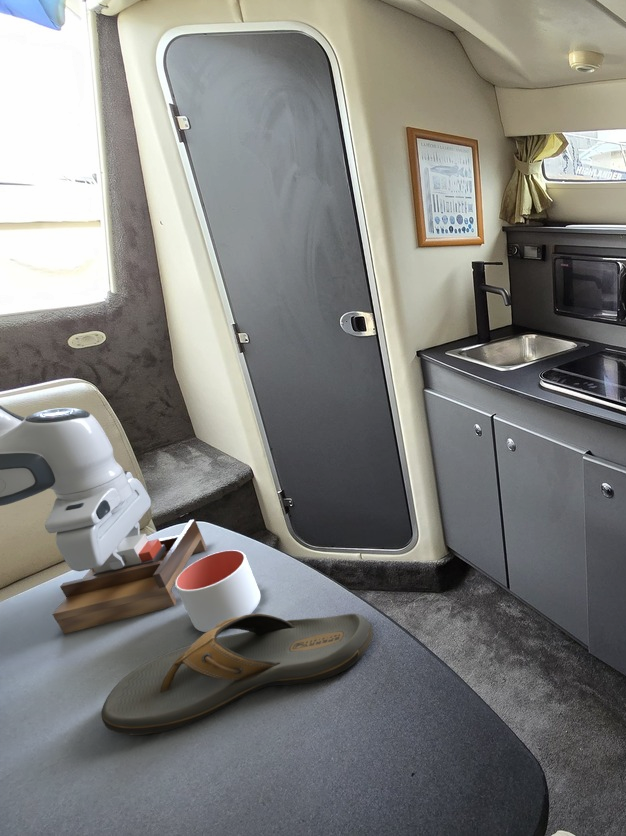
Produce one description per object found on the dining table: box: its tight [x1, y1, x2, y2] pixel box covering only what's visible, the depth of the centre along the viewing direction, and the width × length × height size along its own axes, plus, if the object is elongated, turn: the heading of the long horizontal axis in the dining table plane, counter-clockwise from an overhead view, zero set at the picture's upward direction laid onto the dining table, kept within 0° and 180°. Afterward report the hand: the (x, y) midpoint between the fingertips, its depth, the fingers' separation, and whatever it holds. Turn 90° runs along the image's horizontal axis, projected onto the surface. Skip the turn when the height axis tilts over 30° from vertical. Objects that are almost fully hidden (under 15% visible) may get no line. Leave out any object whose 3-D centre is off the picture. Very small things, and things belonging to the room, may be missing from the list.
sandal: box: [100, 613, 374, 736], centre depth 75 cm, size 14×34×9 cm, turn 104°
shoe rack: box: [51, 518, 208, 634], centre depth 94 cm, size 16×17×8 cm
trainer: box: [93, 533, 166, 576], centre depth 92 cm, size 9×5×6 cm, turn 110°
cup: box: [174, 549, 261, 633], centre depth 87 cm, size 10×10×10 cm
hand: (128, 556), depth 93 cm, fingers closed on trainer, 4 cm apart
